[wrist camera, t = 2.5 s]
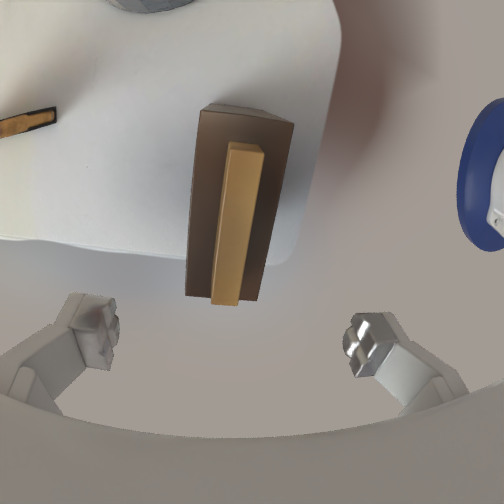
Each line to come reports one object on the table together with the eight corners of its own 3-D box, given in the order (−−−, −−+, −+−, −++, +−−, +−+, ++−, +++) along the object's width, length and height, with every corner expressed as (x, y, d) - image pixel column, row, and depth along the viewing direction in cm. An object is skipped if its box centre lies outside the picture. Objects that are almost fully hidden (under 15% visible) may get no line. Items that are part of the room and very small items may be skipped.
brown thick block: (262, 110, 25) (295, 123, 14) (243, 222, 31) (257, 301, 20) (210, 103, 25) (200, 109, 14) (197, 217, 31) (184, 296, 19)
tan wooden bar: (258, 144, 15) (265, 153, 13) (235, 282, 19) (237, 306, 17) (228, 140, 15) (229, 148, 12) (211, 280, 19) (210, 304, 17)
